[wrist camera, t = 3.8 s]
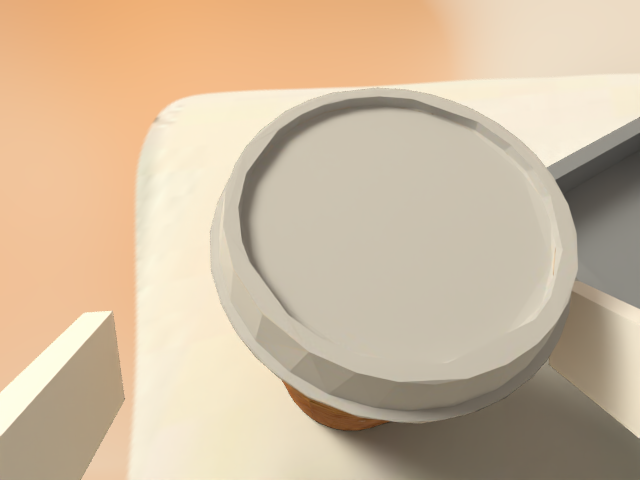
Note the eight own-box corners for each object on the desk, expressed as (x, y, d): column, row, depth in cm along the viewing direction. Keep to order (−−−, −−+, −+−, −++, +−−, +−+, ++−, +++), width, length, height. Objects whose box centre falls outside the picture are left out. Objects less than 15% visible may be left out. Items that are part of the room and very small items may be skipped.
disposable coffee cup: (228, 462, 19) (154, 386, 9) (261, 260, 24) (239, 62, 14) (459, 483, 19) (655, 431, 9) (443, 276, 24) (556, 92, 14)
